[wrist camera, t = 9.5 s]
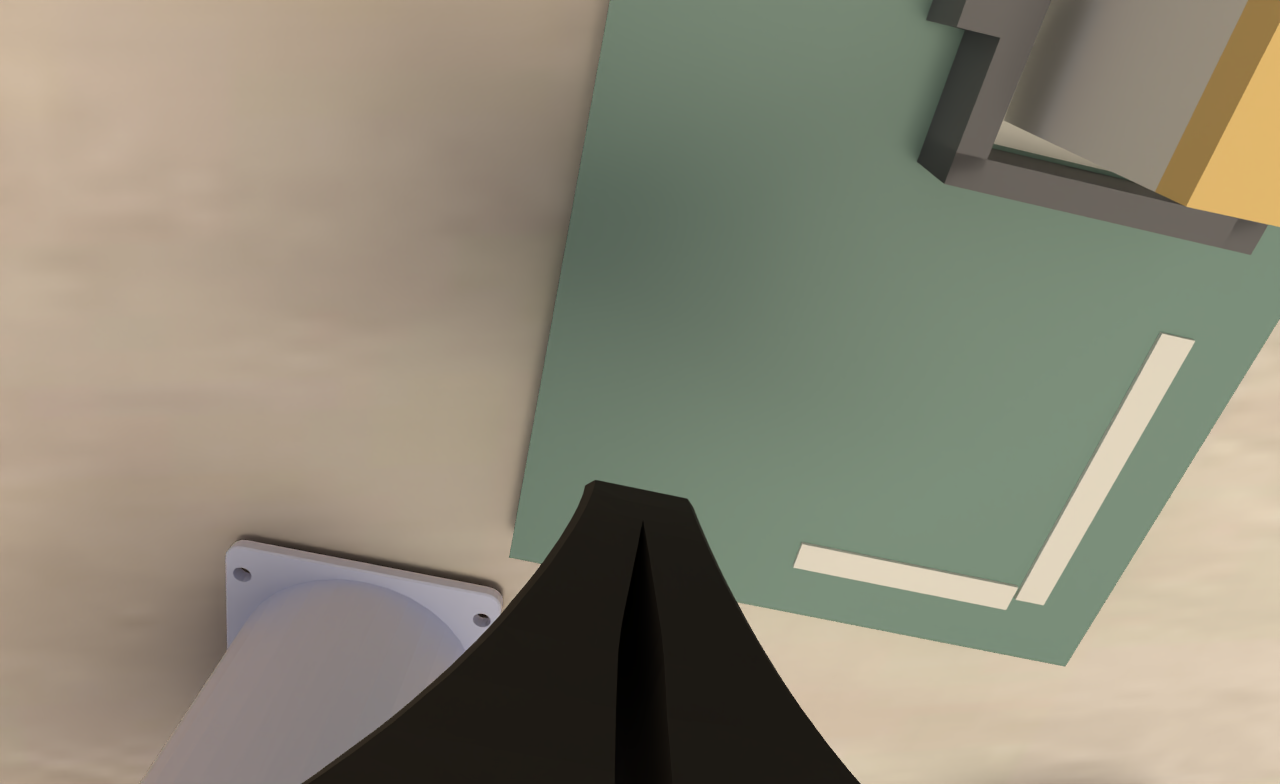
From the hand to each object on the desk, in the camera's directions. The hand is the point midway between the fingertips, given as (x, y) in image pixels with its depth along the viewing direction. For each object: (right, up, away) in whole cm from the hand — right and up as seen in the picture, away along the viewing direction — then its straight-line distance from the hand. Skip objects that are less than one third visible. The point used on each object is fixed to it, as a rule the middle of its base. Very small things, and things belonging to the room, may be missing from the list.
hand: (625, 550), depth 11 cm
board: (+7, +6, +8) cm, 12 cm away
